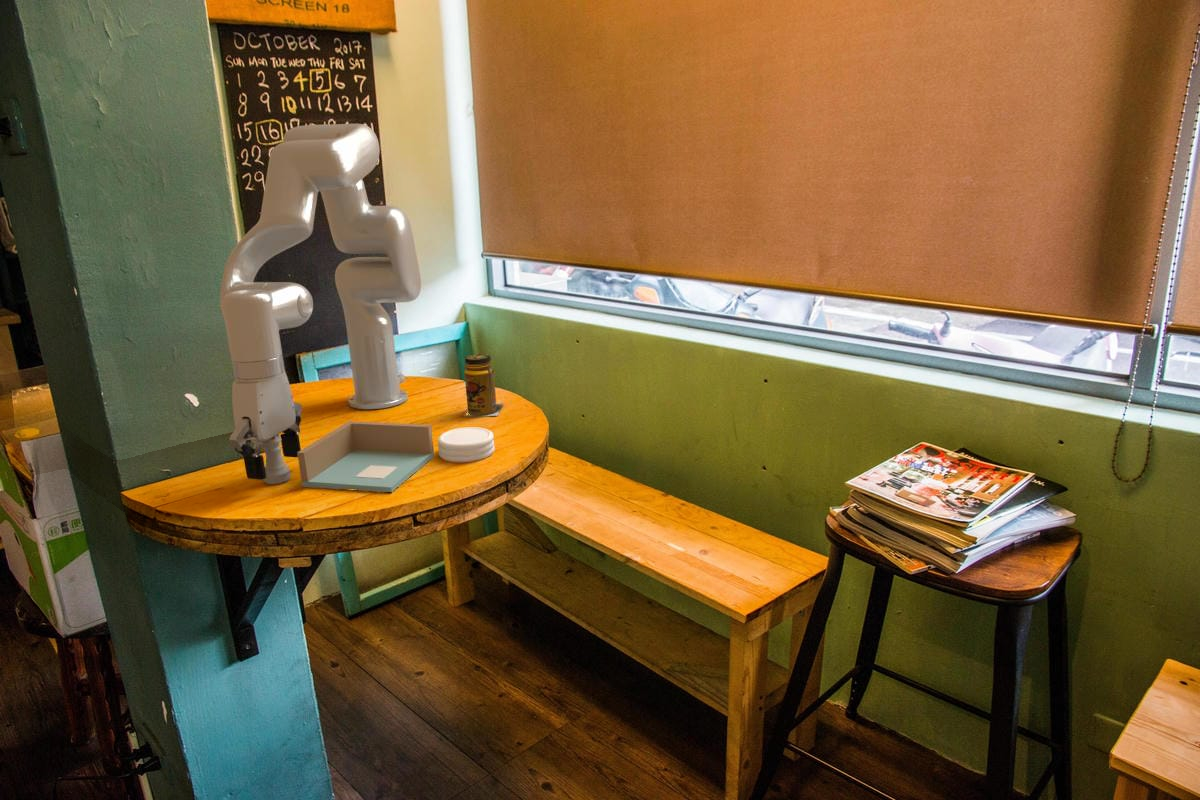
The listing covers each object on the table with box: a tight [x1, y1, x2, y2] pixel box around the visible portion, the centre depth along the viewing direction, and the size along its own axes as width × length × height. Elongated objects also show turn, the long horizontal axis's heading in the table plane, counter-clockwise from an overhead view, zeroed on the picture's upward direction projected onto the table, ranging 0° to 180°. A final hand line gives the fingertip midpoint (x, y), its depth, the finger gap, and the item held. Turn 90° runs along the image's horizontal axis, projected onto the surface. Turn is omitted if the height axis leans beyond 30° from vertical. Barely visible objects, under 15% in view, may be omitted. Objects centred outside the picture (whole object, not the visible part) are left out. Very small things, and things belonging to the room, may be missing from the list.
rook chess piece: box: [262, 434, 292, 486], centre depth 129 cm, size 4×4×8 cm
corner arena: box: [297, 420, 435, 493], centre depth 132 cm, size 16×16×6 cm
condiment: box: [463, 353, 505, 418], centre depth 162 cm, size 7×8×12 cm
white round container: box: [437, 426, 496, 463], centre depth 140 cm, size 10×10×4 cm
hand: (275, 467), depth 130 cm, fingers open, 9 cm apart
